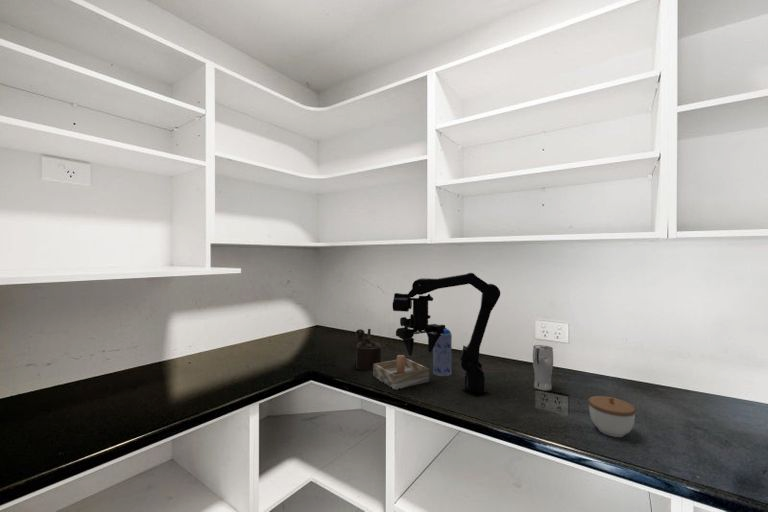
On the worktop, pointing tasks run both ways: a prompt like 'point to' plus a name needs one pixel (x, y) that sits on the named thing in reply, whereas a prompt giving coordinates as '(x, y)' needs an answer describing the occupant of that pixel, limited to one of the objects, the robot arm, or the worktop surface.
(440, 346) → the aerosol can
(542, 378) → the beer glass
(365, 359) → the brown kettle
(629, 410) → the lidded jar
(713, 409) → the worktop surface
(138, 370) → the worktop surface
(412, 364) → the tray
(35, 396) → the worktop surface
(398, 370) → the peg
